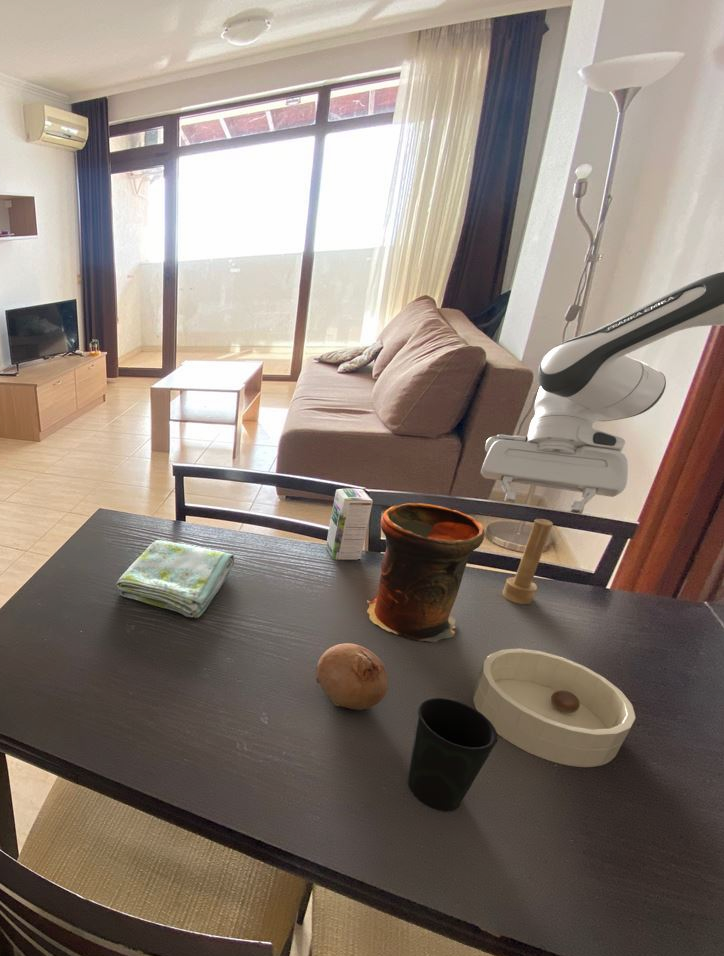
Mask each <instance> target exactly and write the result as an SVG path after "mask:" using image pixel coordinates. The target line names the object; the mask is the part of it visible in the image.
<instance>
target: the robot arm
mask: <svg viewBox="0 0 724 956" xmlns="http://www.w3.org/2000/svg"><path fill="white" fill-rule="evenodd" d="M707 326H722V327H723V326H724V271H722V272H717V273H713V274H711V275H708V276H705V277H703V278H700V279H698V280H695V281H693V282H690V283H689V284H687V285H684V286H682V287H680V288H678V289H676V290H674V291H672V292H670V293H668V294H666V295H664V296H662V297H659V298H657V299H656V300H654V301H651V302H650V303H647V304H646V305H643V306H642V307H639V308H638V309H635V310H634V311H633V310H632V312H629V313H627V314H625V315H624V316H621V317H619V318H618V319H616V320H613V321H611V322H609V323H607V324H605V325H603V326H601V327H598V328H597V329H594V330H592V331H589V332H586V333H584V334H581V335H578V336H575V337H572V338H570V339H567V340H565V341H563V342H561V343H559V344H556V345H555V346H554V347H553V348H551V349H549V351H548V352H547V353H546V354H545V355H544V356H543V357H542V358H541V360H540V363H539V364H538V365H539V366H538V369H537V370H538V371H537V378H538V384H539V388H538V390H537V394H536V398H535V401H534V407H533V408H534V416H533V418H532V419H531V421H530V423H529V427H528V430H527V431H528V432H527V436H521V435H507V434H501V433H500V434H497V435H494V436H491V437H489V438H488V439H487V440H486V441H485V446H484V451H485V453H486V456H485V458H484V461H483V463H482V466H481V469H480V475H481V476H482V477H483V478H484V479H486V480H487V479H488V480H495V481H501V482H500V487H501V489H502V491H503V493H504V494H505V496H504V502H505V503H511V504H515V502H516V500H517V495H518V491H513V489H512V488H511V484H512V483H516V484H521V485H529V486H534V487H541V488H550V489H557V490H563V491H569V492H575V493H576V492H577V493H582V494H581V498H582V500H580V501H578V500H573V501H572V503H571V504H570V510H569V513H572V514H577V515H582V513H584V510H585V506H586V504H588V503H589V502H590V501H592V499H593V498H594V497H595V496H596V495H597V496H604V497H609V498H610V497H611V498H614V497H616V496H618V495H620V494H621V493H622V492H624V491H625V489H626V487H627V484H628V475H629V468H628V467H629V466H628V459H627V457H626V455H625V454H624V453H623V450H624V447H625V444H626V440H625V439H624V438H623V437H620V436H618V435H615V434H611V433H608V432H606V431H602V430H600V429H596V428H594V427H593V425H594V423H596V422H610V421H618V420H624V419H628V418H629V419H630V418H633V417H636V416H639V415H642V414H644V413H646V412H647V411H649V410H650V409H652V408H653V407H654V406H656V404H657V403H658V402H659V401H660V399H661V398H662V396H663V395H664V393H665V390H666V387H667V379H666V376H665V375H664V373H663V372H661V371H659V370H658V369H656V368H654V367H652V366H650V365H649V364H647V363H645V362H643V361H640V360H639V359H636V358H633V357H631V356H629V355H627V354H630V353H632V352H635V351H637V350H639V349H641V348H644V347H646V346H648V345H650V344H652V343H655V342H657V341H659V340H661V339H664V338H666V337H668V336H671V335H673V334H675V333H678V332H681V331H684V330H688V329H692V328H698V327H707Z"/></svg>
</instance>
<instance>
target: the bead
mask: <svg viewBox="0 0 724 956" xmlns="http://www.w3.org/2000/svg"><path fill="white" fill-rule="evenodd" d="M551 702H552V704H553V706H554V707H555V708H556V709H558V710H559V711H561V712H565V713H573V712H575V711H577V710H578V709H579V707H580V702H579V700H578V698H577V697H576V696H575V695H574V694H572V693H571V692H568V691H563V690H561V691H556V692H554V693H553V694H552V696H551Z"/></svg>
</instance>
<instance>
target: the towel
mask: <svg viewBox="0 0 724 956" xmlns="http://www.w3.org/2000/svg"><path fill="white" fill-rule="evenodd" d="M234 557H235V556H234V554H233V553H229V552H228V553H227V552H225V551H220V550H215V549H210V548H205V547H199V546H194V545H189V544H184V543H179V542H173V541H168V540H167V541H166V540H160V539H157V540H154V542H152V543H150V544H149V545H148V547H147V548H146V549H145V550H144V551H143V552H142V554H140V555H139V557H137V558H136V560H134V561H133V562H132V564H131V565H130V566H129V567H128V568H127V569H126V571H124V573H123V574H122V575H121V576H120V577H119V578H118V579H117V581H116V583H115V586H116V587H117V593H118V594H119V595H120V596H122V597H123V598H127V599H131V600H136V601H138V602H142V603H144V604H149V605H151V606H155V607H158V608H162V609H167V610H169V611H173V612H177V613H179V614H181V615H182V616H184V617H186V618H194V619H199V618H200V617H201V616H202V615H203V614H204V612H205V611H206V610H207V608H208V607H209V605H210V604H211V603H212V600H213V599H214V597H215V596H216V595H217V593H218V592H219V590H220V589H221V588H222V585H223V584H224V583H225V582H226V580H227V579H228V577H229V575H230V573H231V571H232V568H233V566H234V562H235V558H234Z"/></svg>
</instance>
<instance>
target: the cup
mask: <svg viewBox="0 0 724 956" xmlns="http://www.w3.org/2000/svg"><path fill="white" fill-rule="evenodd" d="M414 726H415V727H414V732H413V733H414V734H413V741H412V748H411V757H410V763H409V770H408V778H407V785H408V789H409V790H410V792H411V793H412V795H413V796H414V797H415V798H416V799H417V801H418V800H419V802H421V803H422V804H423V805H425V806H426V807H429V808H430V809H433V810H435V811H441V812H453V811H456V810H457V809H458V808H459V807H460V805H461V804H462V801H463V800H464V798H465V796H466V795H467V794H468V792H469V790H470V788H471V786H472V784H474V782H475V780H476V778H477V776H478V775H479V773H480V771H481V769H482V768H483V767H484V764H485V763H486V761H487V760H488V757H489V756H490V754H491V752H492V750H493V749H494V747H495V745H496V744H497V742H498V733H497V732H496V730H495V728H494V726H493V725H492V723H491V722H490V721H489V720H488V719H487V718H486V717H485V716H484V715H483V714H481V713H480V712H478V711H477V710H476V708H474V707H472V706H470V705H468V704H465V702H461V701H458V700H454V699H451V698H444V697H433V698H427V699H425V700H423V701H421V702H420V703H419V705H418V706H417V713H416V719H415V725H414Z"/></svg>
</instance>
